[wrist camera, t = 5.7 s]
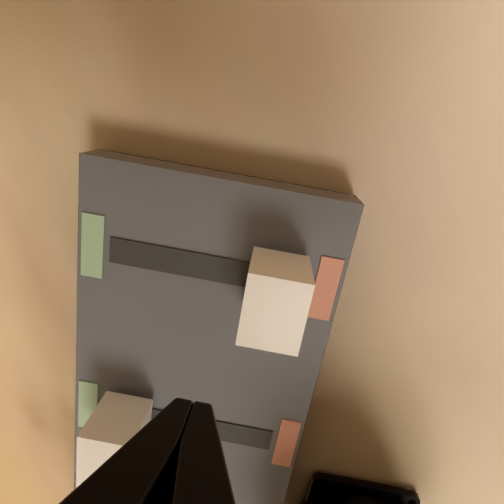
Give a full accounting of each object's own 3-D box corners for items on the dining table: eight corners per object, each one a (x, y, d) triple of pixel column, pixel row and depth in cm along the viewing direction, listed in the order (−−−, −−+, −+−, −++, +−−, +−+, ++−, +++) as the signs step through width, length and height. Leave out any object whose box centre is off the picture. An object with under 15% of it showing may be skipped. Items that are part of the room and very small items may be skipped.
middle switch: (153, 399, 20) (130, 447, 17) (148, 444, 21) (127, 497, 18) (106, 390, 20) (76, 436, 17) (104, 436, 21) (75, 486, 18)
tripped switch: (309, 256, 16) (315, 285, 14) (295, 318, 17) (297, 356, 15) (253, 246, 16) (248, 273, 14) (243, 308, 17) (235, 345, 15)
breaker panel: (355, 195, 18) (364, 205, 16) (261, 556, 26) (259, 592, 24) (100, 149, 18) (78, 153, 16) (88, 522, 26) (72, 555, 24)
